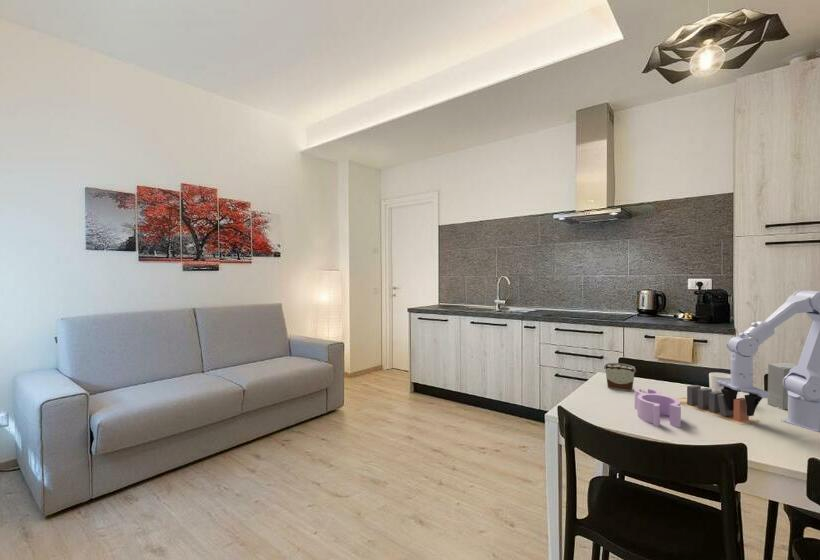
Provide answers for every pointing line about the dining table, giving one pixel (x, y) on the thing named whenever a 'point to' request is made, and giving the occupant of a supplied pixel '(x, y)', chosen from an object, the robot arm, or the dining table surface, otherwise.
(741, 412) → the rust domino
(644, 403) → the clip
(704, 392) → the domino
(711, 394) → the domino
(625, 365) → the food container
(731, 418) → the cork strip
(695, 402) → the domino
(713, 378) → the white cup
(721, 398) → the domino
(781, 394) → the skincare box
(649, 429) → the dining table surface
